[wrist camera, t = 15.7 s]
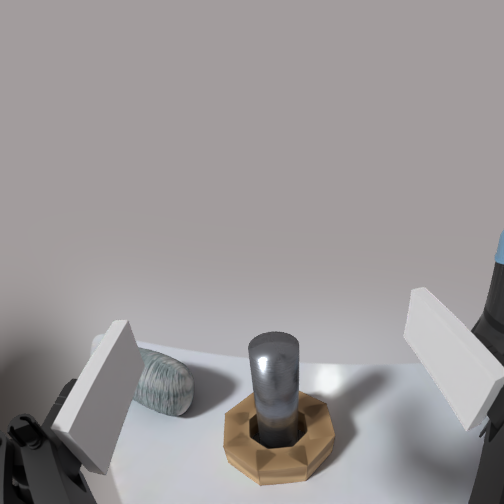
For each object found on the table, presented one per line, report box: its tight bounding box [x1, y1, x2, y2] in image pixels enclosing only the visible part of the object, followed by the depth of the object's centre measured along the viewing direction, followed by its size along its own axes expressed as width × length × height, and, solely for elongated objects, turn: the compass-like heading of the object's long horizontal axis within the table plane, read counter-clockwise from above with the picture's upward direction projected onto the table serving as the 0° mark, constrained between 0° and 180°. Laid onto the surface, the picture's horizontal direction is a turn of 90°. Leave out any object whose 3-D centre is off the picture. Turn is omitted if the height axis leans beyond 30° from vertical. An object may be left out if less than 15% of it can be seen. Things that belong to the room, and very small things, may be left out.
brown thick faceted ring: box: [223, 391, 335, 486], centre depth 29 cm, size 12×12×4 cm
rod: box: [248, 332, 299, 449], centre depth 27 cm, size 4×4×16 cm
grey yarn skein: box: [132, 347, 194, 416], centre depth 37 cm, size 14×10×10 cm
